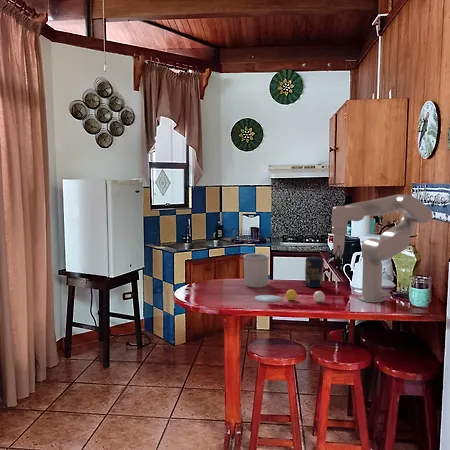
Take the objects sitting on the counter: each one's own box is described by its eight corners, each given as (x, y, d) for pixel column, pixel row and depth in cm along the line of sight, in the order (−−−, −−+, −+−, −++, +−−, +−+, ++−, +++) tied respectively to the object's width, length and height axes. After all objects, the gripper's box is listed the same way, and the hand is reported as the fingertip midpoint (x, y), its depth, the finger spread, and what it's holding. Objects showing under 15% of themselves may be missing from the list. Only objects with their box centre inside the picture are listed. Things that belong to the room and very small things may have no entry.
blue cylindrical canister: (301, 285, 264) (302, 255, 262) (315, 283, 268) (315, 253, 266) (311, 289, 255) (312, 257, 254) (325, 287, 259) (325, 256, 257)
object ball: (297, 299, 234) (297, 288, 234) (296, 302, 229) (296, 291, 228) (286, 298, 236) (286, 287, 235) (285, 301, 230) (285, 290, 230)
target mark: (283, 296, 240) (283, 295, 240) (279, 303, 227) (279, 302, 227) (257, 294, 244) (257, 294, 244) (252, 301, 230) (252, 300, 230)
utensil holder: (267, 288, 258) (267, 258, 256) (241, 287, 261) (241, 257, 259) (270, 282, 272) (270, 253, 270) (245, 281, 275) (245, 253, 273)
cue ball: (324, 300, 231) (325, 290, 230) (324, 303, 225) (324, 292, 225) (313, 300, 232) (313, 289, 231) (312, 303, 227) (313, 292, 226)
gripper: (332, 229, 233) (331, 261, 235) (330, 232, 217) (329, 267, 218) (347, 229, 231) (346, 262, 233) (347, 233, 215) (345, 268, 216)
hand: (338, 265), depth 226 cm, fingers open, 9 cm apart
